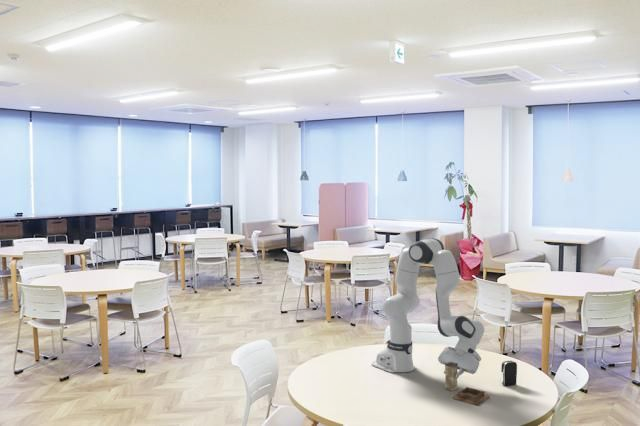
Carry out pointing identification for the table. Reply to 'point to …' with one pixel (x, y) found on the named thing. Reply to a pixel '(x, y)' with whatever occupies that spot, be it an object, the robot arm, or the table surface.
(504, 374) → the battery charger
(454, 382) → the tall wooden pillar
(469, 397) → the dock
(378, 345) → the table surface
